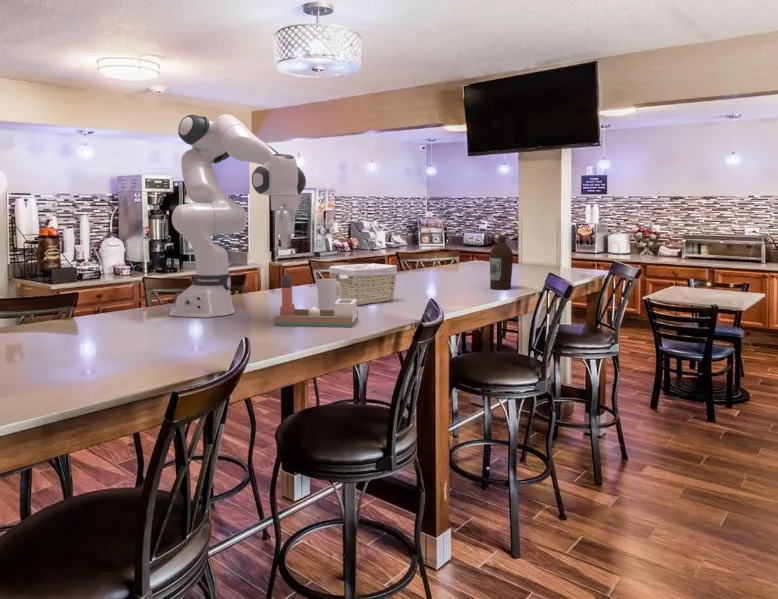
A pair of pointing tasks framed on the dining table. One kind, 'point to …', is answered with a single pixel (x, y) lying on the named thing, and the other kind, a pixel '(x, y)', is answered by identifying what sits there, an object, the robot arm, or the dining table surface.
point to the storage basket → (365, 282)
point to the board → (323, 316)
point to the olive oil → (501, 265)
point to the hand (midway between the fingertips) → (286, 247)
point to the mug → (327, 293)
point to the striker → (287, 297)
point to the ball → (314, 311)
